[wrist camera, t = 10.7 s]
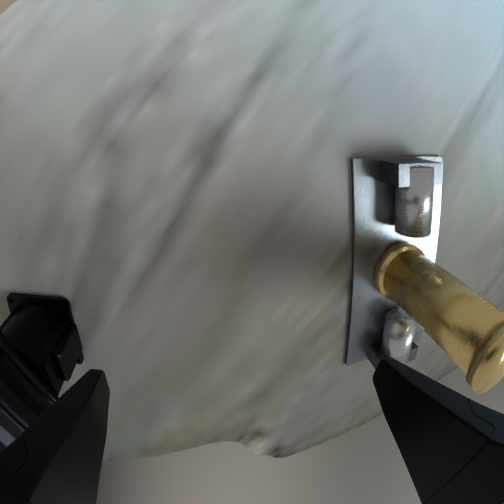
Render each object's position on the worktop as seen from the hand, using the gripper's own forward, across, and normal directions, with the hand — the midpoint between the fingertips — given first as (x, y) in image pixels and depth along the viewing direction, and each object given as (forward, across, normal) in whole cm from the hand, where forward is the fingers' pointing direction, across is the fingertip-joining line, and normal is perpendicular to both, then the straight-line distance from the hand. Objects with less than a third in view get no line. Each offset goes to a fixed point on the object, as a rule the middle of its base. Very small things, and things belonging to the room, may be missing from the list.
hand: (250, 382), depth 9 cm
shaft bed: (+13, -15, +2) cm, 20 cm away
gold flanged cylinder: (+13, -15, +2) cm, 20 cm away
